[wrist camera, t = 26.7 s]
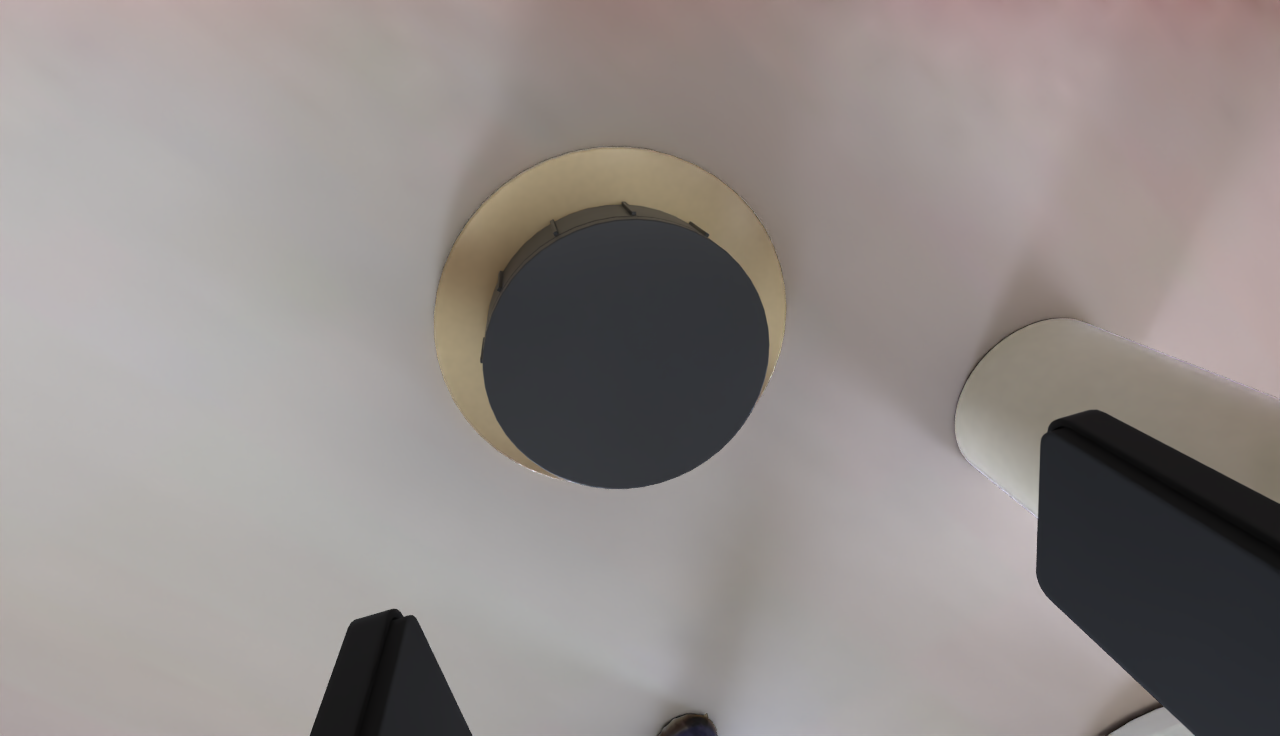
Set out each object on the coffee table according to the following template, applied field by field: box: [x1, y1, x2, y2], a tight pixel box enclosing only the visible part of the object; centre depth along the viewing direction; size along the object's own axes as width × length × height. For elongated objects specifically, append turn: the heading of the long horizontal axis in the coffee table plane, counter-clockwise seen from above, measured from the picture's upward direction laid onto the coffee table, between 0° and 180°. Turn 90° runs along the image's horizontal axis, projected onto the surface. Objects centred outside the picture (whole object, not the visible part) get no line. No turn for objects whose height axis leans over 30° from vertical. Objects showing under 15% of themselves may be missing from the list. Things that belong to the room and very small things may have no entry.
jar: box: [955, 318, 1280, 519], centre depth 16 cm, size 6×6×13 cm
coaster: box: [434, 146, 786, 483], centre depth 18 cm, size 10×10×1 cm
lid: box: [480, 202, 770, 489], centre depth 17 cm, size 7×7×2 cm
